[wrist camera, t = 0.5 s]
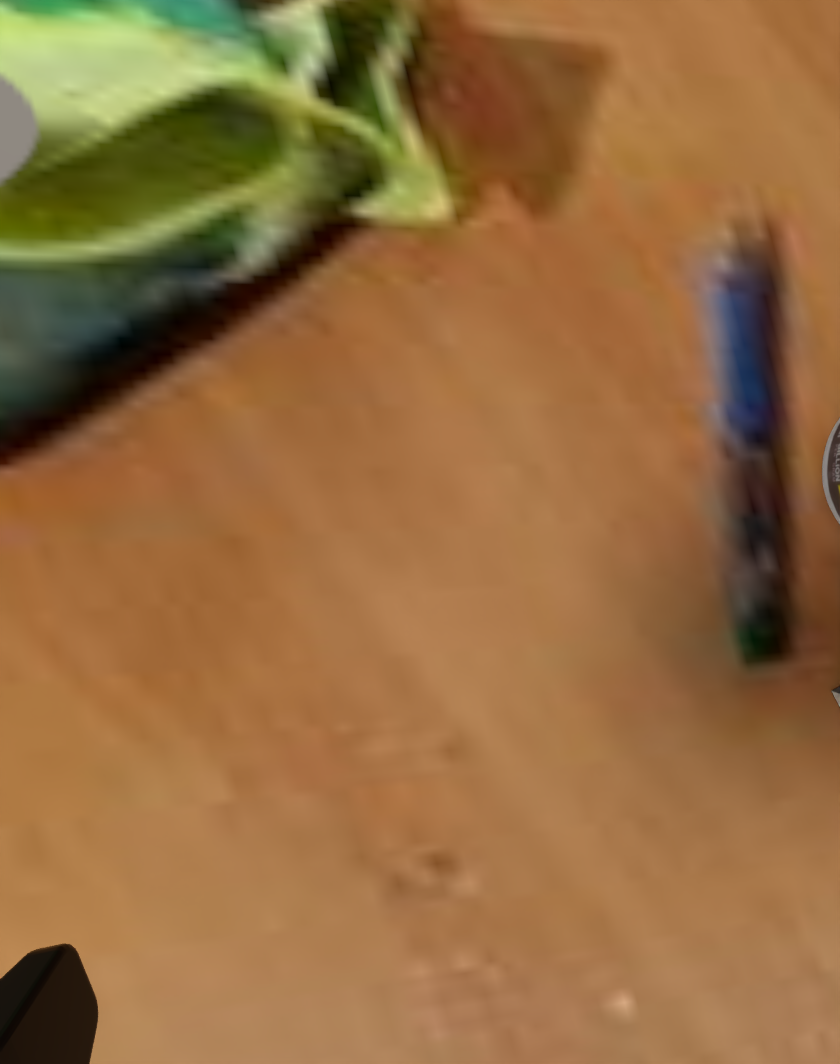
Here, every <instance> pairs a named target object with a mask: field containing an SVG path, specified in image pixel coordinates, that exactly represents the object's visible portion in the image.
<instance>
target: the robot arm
mask: <svg viewBox="0 0 840 1064" xmlns="http://www.w3.org/2000/svg"><path fill="white" fill-rule="evenodd" d="M97 1022H98V1005H97V1000H96V996H95V994H94V991H93V989H92V986H91V984H90V981H89V979H88V976H87V974H86V972H85V969H84V967H83V964H82V962H81V959H80V957H79V954H78V952H77V951H76V949H75V948H74V947H73V946H72V945H70V944H59V945H55V946H50V947H45V948H40V949H36V950H34V951H31V952H30V953H28V954H27V955H26V956H24V957H23V958H22V959H21V960H20V961H19V962H18V963H17V964H16V965H15V966H14V967H13V968H12V969H10V970H9V971H8V972H7V973H6V974H5V975H4V976H3V977H2V978H1V979H0V1064H89V1063H90V1058H91V1053H92V1048H93V1043H94V1038H95V1033H96V1028H97Z"/></svg>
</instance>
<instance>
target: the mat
mask: <svg viewBox="0 0 840 1064" xmlns="http://www.w3.org/2000/svg"><path fill="white" fill-rule="evenodd" d="M832 693H833V695H834V697H835V699H836V701H837V703H838V705H839V707H840V687H838V688H836V689H834V690H832Z"/></svg>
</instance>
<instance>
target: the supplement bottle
mask: <svg viewBox="0 0 840 1064" xmlns="http://www.w3.org/2000/svg"><path fill="white" fill-rule="evenodd" d="M822 481H823V488H824V492H825V496H826V499H827V502H828V505H829V507H830V509H831V511H832V513H833V515H834V517H835V518H836V520H837V521H838V523H839V524H840V418H839V420H838V421H837V423H836V424H835V426H834V428H833V429H832V431H831V434H830V436H829V438H828V441H827V444H826V447H825V451H824V456H823V464H822Z"/></svg>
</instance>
